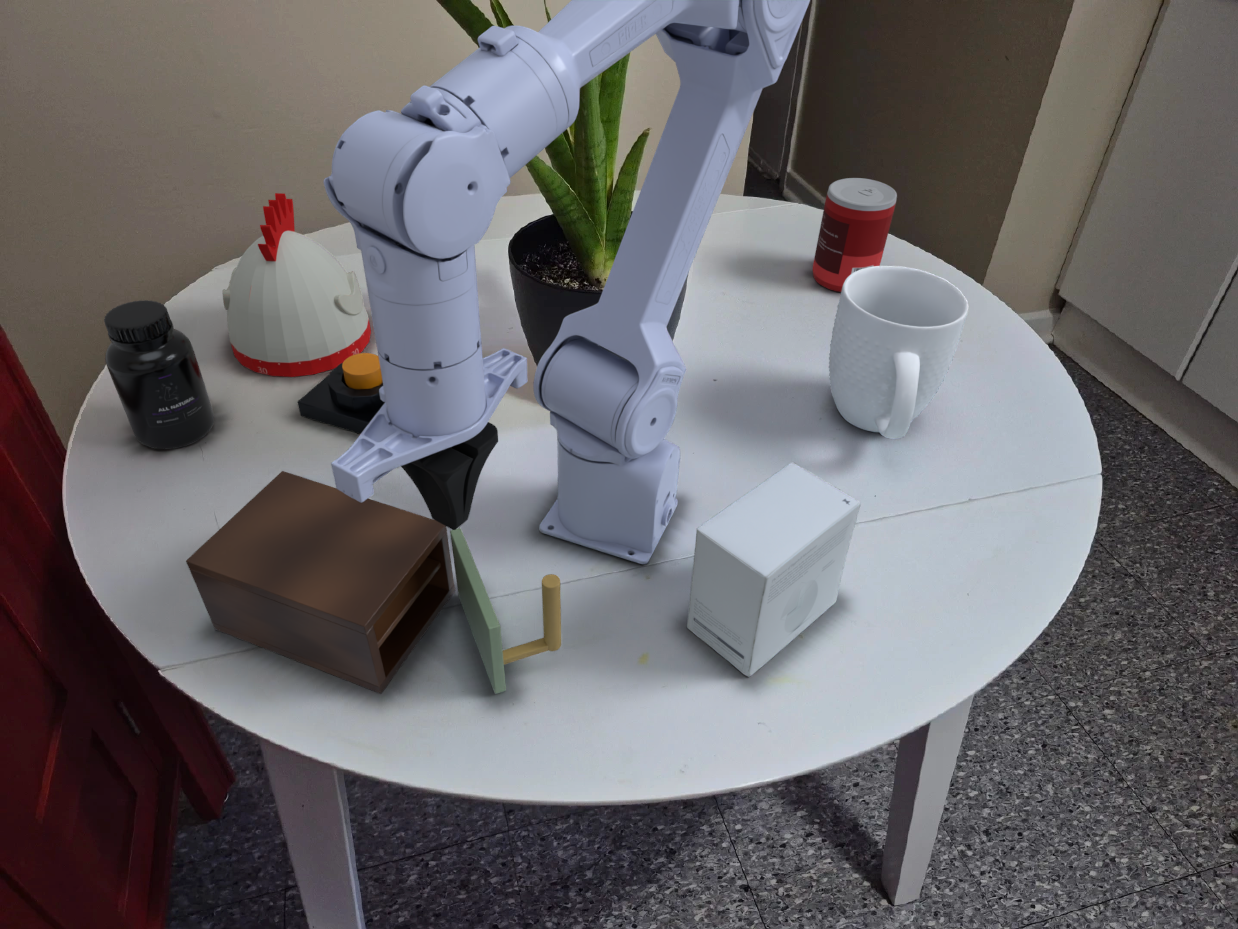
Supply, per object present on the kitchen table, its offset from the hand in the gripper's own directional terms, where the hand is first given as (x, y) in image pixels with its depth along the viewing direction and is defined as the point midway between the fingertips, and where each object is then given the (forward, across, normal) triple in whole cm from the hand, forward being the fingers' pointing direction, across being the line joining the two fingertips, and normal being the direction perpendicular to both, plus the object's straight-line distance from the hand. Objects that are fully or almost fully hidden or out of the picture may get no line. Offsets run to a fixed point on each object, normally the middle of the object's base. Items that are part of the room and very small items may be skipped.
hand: (450, 518), depth 57 cm
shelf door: (+10, -1, +4) cm, 11 cm away
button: (+7, -14, -25) cm, 29 cm away
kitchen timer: (+10, -19, -39) cm, 44 cm away
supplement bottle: (+11, -2, -36) cm, 38 cm away
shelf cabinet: (+10, +4, -8) cm, 14 cm away
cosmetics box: (+10, -13, +18) cm, 25 cm away
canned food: (+10, -66, +2) cm, 67 cm away
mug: (+10, -42, +16) cm, 46 cm away
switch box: (+10, -14, -24) cm, 30 cm away
